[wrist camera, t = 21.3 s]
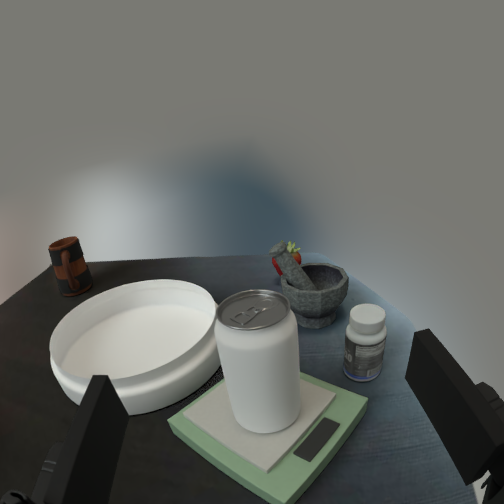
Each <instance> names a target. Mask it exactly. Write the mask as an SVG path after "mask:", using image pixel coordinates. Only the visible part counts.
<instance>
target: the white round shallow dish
mask: <svg viewBox="0 0 504 504" xmlns="http://www.w3.org/2000/svg"><path fill="white" fill-rule="evenodd" d="M217 307H218V305H217V304H216V302H214V300H213V298H212V296H211V295H210V294H209V293H208V292H207V291H206V290H205V289H203V288H201V287H200V286H197V285H195V284H192V283H189V282H185V281H179V280H148V281H141V282H135V283H130V284H126V285H123V286H119V287H116V288H113V289H110V290H107V291H105V292H102V293H100V294H98V295H96V296H94V297H92V298H90V299H88V300H86V301H84V302H83V303H81V304H80V305H78V306H77V307H75V308H74V309H73V310H72V311H70V312H69V313H68V314H67V315H66V316H65V317H64V318H63V319H62V320H61V321H60V322H59V324H58V325H57V326H56V328H55V330H54V332H53V334H52V336H51V339H50V353H51V366H52V370H53V372H54V375H55V376H56V378H57V380H58V382H59V384H60V385H61V387H62V389H63V390H64V392H65V393H66V395H67V396H68V397H69V398H70V399H71V400H72V401H74V402H75V403H76V404H77V405H80V403H81V400H82V398H83V396H84V394H85V391H86V389H87V387H88V385H89V382H90V380H91V378H92V376H93V375H108V376H109V378H110V380H111V382H112V384H113V386H114V388H115V390H116V392H117V394H118V396H119V398H120V400H121V401H122V403H123V405H124V407H125V409H126V410H127V412H128V414H129V415H136V414H143V413H147V412H151V411H155V410H158V409H161V408H164V407H167V406H169V405H171V404H174V403H176V402H178V401H180V400H182V399H184V398H185V397H187V396H188V395H190V394H192V393H193V392H195V391H196V390H197V389H199V388H200V387H201V386H202V385H203V384H205V383H206V382H207V381H208V380H209V379H210V378H211V377H212V375H213V374H214V373H215V372H216V371H217V369H218V368H219V366H220V365H221V361H220V357H219V353H218V348H217V343H216V339H215V332H214V328H215V324H216V320H217V317H216V309H217Z"/></svg>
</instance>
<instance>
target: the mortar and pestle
mask: <svg viewBox="0 0 504 504" xmlns="http://www.w3.org/2000/svg"><path fill="white" fill-rule="evenodd" d="M269 255H270V256H271V257H272V258H274V259H275V261H276V262H277V264H278V266H279V267H280V269H281V271H282V272H283V275H281V285H282V290H283V295H284V296H286V297H287V298H288V300H289V302H290V309H291V310H292V311H294V312H295V317H296V321H297V323H298V324H300V325H301V326H303V327H305V328H315V329H320V328H323V327H325V326H328V325H331V324H332V322H333V321H334V320H335V318H336V313H335V311H336V310H337V309H338V307H339V306H340V305H341V303H342V302H343V300H344V298H345V297H346V295H347V290H348V281H349V277H348V276H347V274H346V273H345V271H344V269H343V268H340V267H337V266H334V265H331V264H328V263H307V264H303V265H299V264H298V263H297V261H296V260H295V259H294V258H293V256H292V255H291V254H290V252H289V251H288V250H287V245H286V244H285V242H281V243H278V244H276V245H275V246H273V247H272V248H271V249H270V250H269Z"/></svg>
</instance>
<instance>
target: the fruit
mask: <svg viewBox="0 0 504 504" xmlns="http://www.w3.org/2000/svg"><path fill="white" fill-rule="evenodd" d="M281 242H283V240H282V241H281ZM294 247H295V242H294V244H293V245H292V246H291V241H290V242H289V243H288V245H287V250H288V251H289V252H290V254H291V255H292V256H293V258H294V259H295V260H296V261H297V263H298V264H299V265H300V264H301V255H300V254H299V253H298V252H297V251H298V250H299V249H300V248H296V249H293V248H294ZM272 263H273V265H274V267H275V268H276V270H277V272H278V274H279V275H280V276H281V275H283V272H282V271H281V269H280V267H279V266H278V264H277V262H276V261H275V259H274V258H272Z"/></svg>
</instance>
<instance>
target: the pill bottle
mask: <svg viewBox="0 0 504 504" xmlns="http://www.w3.org/2000/svg"><path fill="white" fill-rule="evenodd" d="M385 317H386V314H385V311H384V310H383V309H382V308H381V307H379V306H377V305H374V304H360V305H357V306H355V307H353V308H352V310H351V311H350V318H349V324H348V326H347V328H346V336H345V352H344V372H345V374H346V375H347V376H348V377H349V378H350V379H352V380H355V381H370V380H372V379H374V378H376V377H377V376H378V375H379V373H380V371H381V366H382V360H383V354H384V348H385V341H386V335H387V330H386V327H385Z"/></svg>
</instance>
